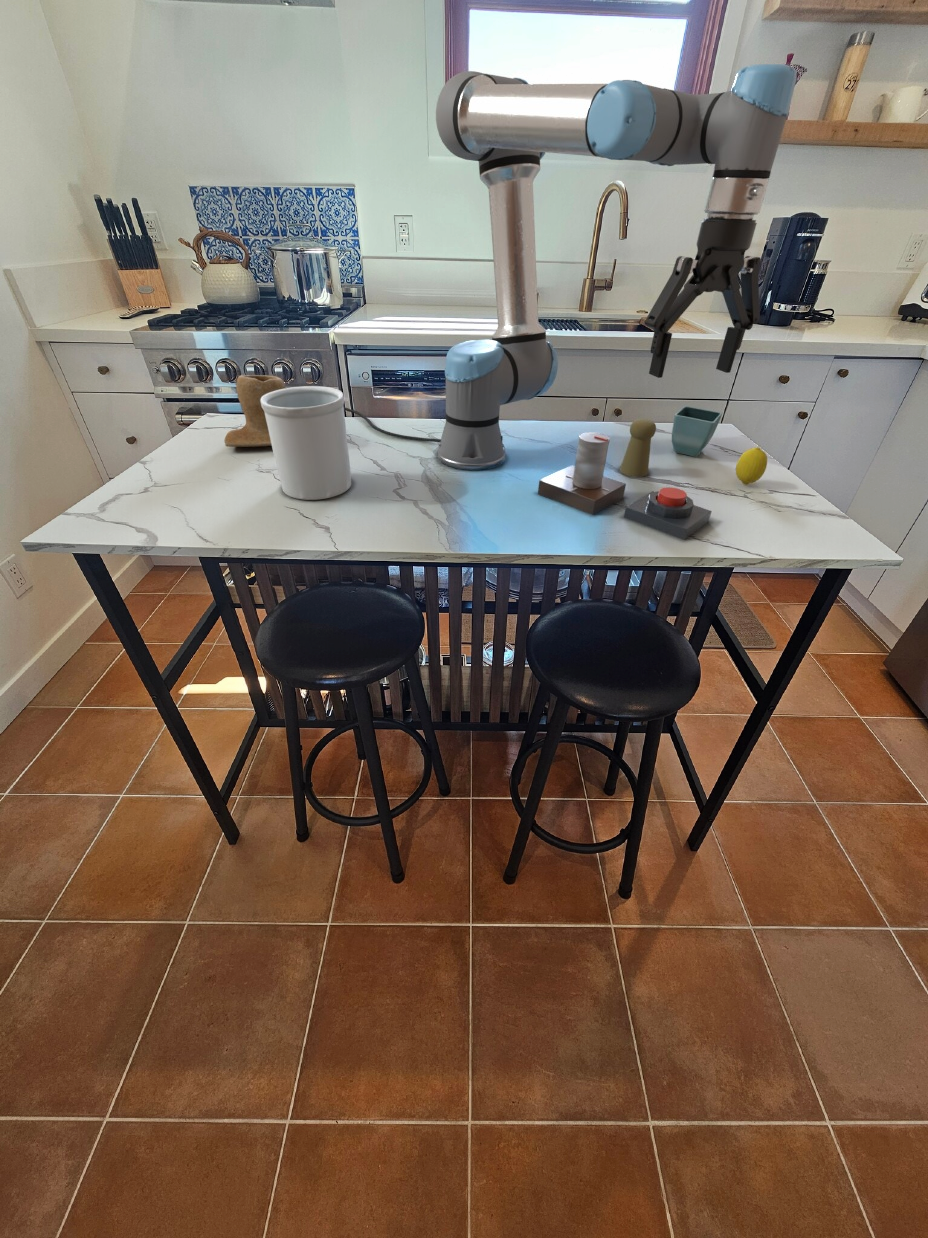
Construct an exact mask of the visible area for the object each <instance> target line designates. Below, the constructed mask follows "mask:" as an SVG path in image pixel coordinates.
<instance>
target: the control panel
mask: <svg viewBox="0 0 928 1238" xmlns="http://www.w3.org/2000/svg"><path fill="white" fill-rule="evenodd" d="M574 468H575V465H572V464H571V465H569V466H567V467H565V468H562V469H560V470H557V471H556V472H553V473H552V474H549V475H547V476H545V477H542V478H541V479H539V480H538V489H537V495H539V496H542V497H545V498H547V499H549V500H553V501H554V502H557V503H560V504H563V505H565V506H567V507H570V508H573V509H575V510H577V511H581V512H584V513H586V514H588V515H590V516H594V515H596V514H597V513H599V512H601V511H603V510H605V509H606V508H608V507H610V506H612V505H613V504H615V503H617V502H618V501H620V500H622V499H624V495H625V491H626V486H627V484H626V483H625V482H622V481H619V480H616V479H613V478H610V477H607V476H604V475H603V479H602V484H601V486H600V487H599V488H596V489H584V488H580V487H577V486H575V485H574V484H573V475H574Z"/></svg>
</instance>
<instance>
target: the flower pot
mask: <svg viewBox="0 0 928 1238" xmlns="http://www.w3.org/2000/svg"><path fill="white" fill-rule="evenodd" d="M722 416H723V413H722V412H721V411H715V410H709V409H704V408H698V407H693V406H686V405H685V406H682V407H681V408H680V409H679V411H677V412H676V413H675V414H674V416H673V423H672V429H671V446H672V448H673V451H674V453H677V454H681V455H686V456H690V457H695V458H696V457H698V455H700V453H702V451H703V450H704V449H705V448H706V446H707V445H708V444H709V443H710V441H711V439H712V438H713V437H714V434H715V432H716V430H717V427H718V425H719V423H720V420H721V418H722Z"/></svg>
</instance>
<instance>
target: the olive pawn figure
mask: <svg viewBox="0 0 928 1238" xmlns="http://www.w3.org/2000/svg"><path fill="white" fill-rule="evenodd" d="M656 431H657V426H656V422H654V421H653V420H650V419H648V418H647V419H645V418H638V419H635V420H633V421H632V423H631V424H630V427H629V434H630V439H629V441H628V444H627V447H626V450H625V453H624V455H623V459H622V462H621V465H620V468H619V472H620V473H621V474H623V475H625V476H627V477H633V478H642V477H646V476H647V475H648V474H649V465H650V456H651V455H650V453H651V445H652V444H651V443H652V438H653V437H654V436H655V434H656Z"/></svg>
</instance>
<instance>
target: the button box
mask: <svg viewBox="0 0 928 1238" xmlns="http://www.w3.org/2000/svg"><path fill="white" fill-rule="evenodd" d="M658 494H659V490H657V491H654V490H652V491H650V492H648V493H647V494H645V495H644V496H641V497H640V498H638V499H637V500H635V501H633V502H632V503H630V504H628V505H627V506H626V507H625V509H624V514H623V518H624V519H627V520H629V521H632V522H634V523H638V524H640V525H643V526H645V527H647V528H650V529H654V530H656V531H659V532H661V533H664V534H666V535H669V536H672V537H675V538H677V539H680V540H683V541H684V540H686V539H687V538H688V537H690V536H691V535H693V534H694V533H695V532H697V531H698V530H699V529H701V528H702V527H703V526H704V525H706V524H708V523H709V521H710V518H711V515H712V510H710V509H708V508H707V509H706V508H704V507H702V506H698V505H695V504H694V500H693V499H692V498H691V497H689V496H688V495H687V497H686V500H685V504H684V505H683V506H678V507H674V506H667V505H664V504H662V503H660V502H658V501H657V498H658Z"/></svg>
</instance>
